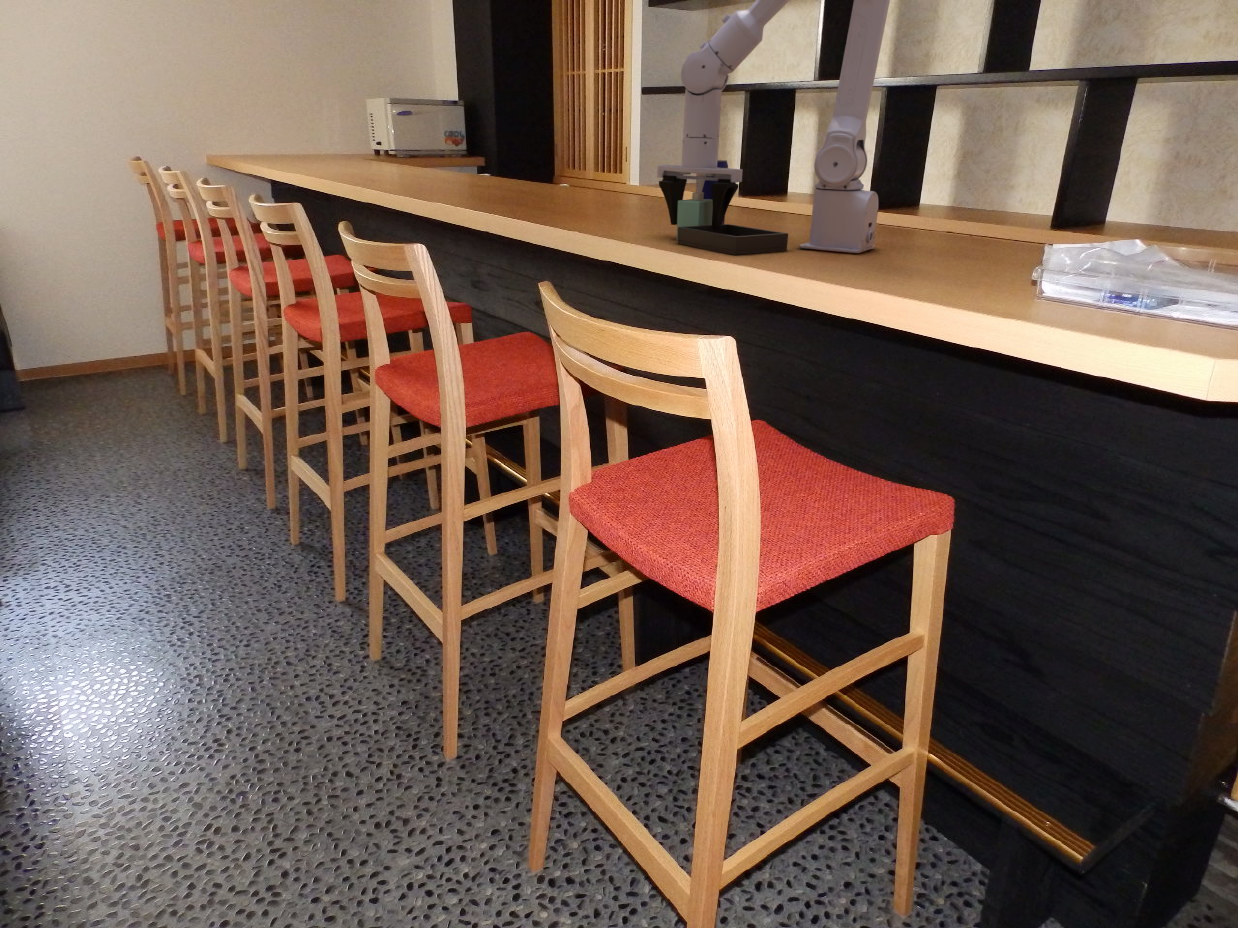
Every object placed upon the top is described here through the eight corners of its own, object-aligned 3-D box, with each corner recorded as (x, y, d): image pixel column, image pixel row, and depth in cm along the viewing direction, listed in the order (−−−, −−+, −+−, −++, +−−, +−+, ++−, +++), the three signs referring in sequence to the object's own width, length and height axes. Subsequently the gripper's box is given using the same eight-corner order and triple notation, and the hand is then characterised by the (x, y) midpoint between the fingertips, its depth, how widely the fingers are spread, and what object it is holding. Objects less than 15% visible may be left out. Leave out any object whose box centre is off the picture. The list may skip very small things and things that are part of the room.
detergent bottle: (715, 238, 140) (717, 192, 137) (697, 242, 135) (699, 194, 133) (694, 236, 142) (696, 191, 139) (676, 240, 137) (678, 192, 135)
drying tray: (786, 251, 127) (788, 233, 126) (735, 255, 122) (736, 237, 121) (726, 240, 138) (727, 224, 137) (677, 243, 133) (677, 227, 132)
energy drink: (722, 234, 145) (727, 161, 141) (691, 233, 146) (695, 160, 142) (725, 231, 150) (729, 160, 145) (695, 230, 151) (699, 159, 146)
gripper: (753, 139, 132) (746, 228, 137) (674, 136, 140) (670, 220, 145) (733, 139, 127) (726, 232, 132) (651, 136, 134) (648, 224, 139)
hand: (695, 226), depth 138 cm, fingers open, 7 cm apart
